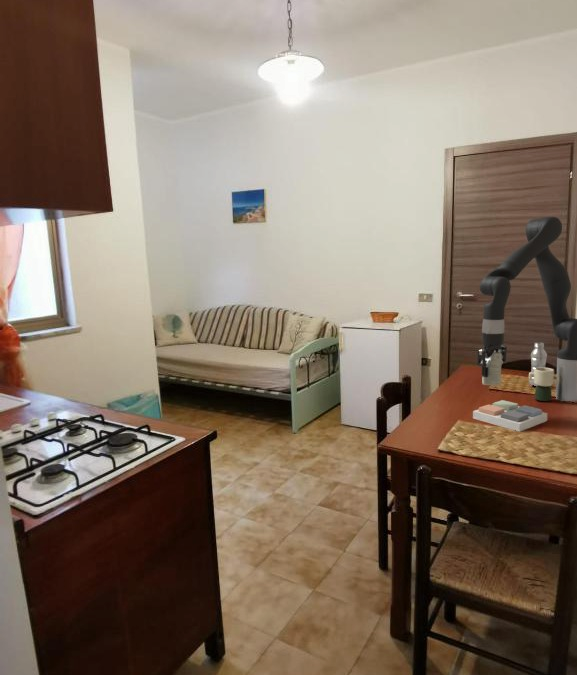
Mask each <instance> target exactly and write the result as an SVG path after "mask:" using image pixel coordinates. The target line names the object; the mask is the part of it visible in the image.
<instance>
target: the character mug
mask: <svg viewBox="0 0 577 675" xmlns="http://www.w3.org/2000/svg"><path fill="white" fill-rule="evenodd" d="M532 375H534V378H531V377H532ZM556 377H557V378H556ZM528 380H534V383H535V384H536V385H538V386H537V387H535V392H534V397H533V398H534V399H535V400H537V401H541V402H548V401H549V402H550V401H551V400H553V398H552V397H553V396H552V389H551V386H552V387H553V385H554V383H555V384H556V383H558V382H559V375H557V373H555V369H554V368H550V367H545V368H544V367H539V368H535V369H534V373H532V372H531V371H530V372H529V373H528Z"/></svg>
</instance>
